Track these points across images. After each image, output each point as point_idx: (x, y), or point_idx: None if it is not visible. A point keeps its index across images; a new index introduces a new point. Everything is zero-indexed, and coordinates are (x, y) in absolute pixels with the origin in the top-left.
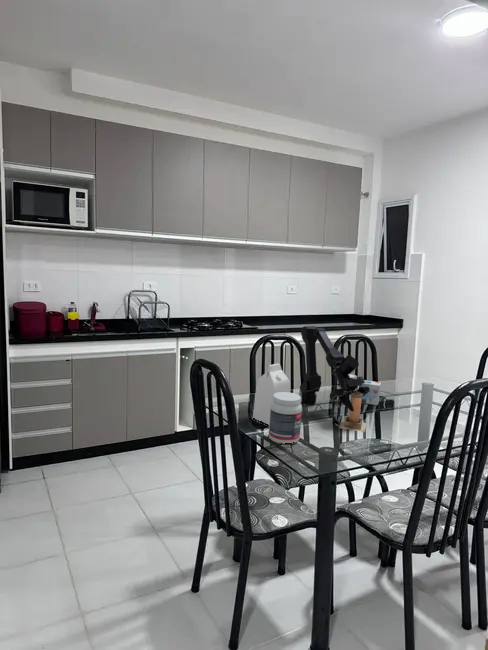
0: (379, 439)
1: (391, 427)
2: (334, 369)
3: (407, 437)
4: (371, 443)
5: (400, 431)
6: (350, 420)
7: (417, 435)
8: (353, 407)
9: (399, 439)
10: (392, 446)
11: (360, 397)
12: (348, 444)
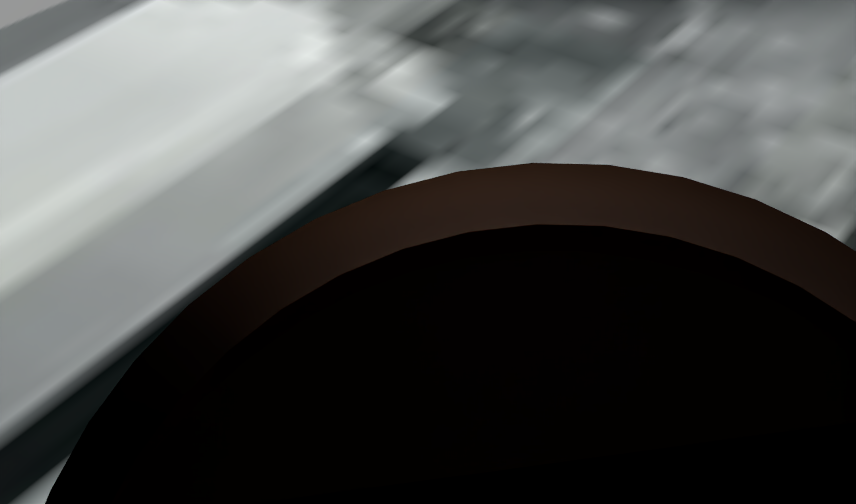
0: (412, 133)
1: (20, 287)
2: None
3: (141, 69)
4: (556, 103)
5: (53, 178)
6: (557, 476)
7: (23, 64)
8: (647, 466)
9: (244, 68)
10: (426, 5)
11: (605, 183)
12: (801, 169)
